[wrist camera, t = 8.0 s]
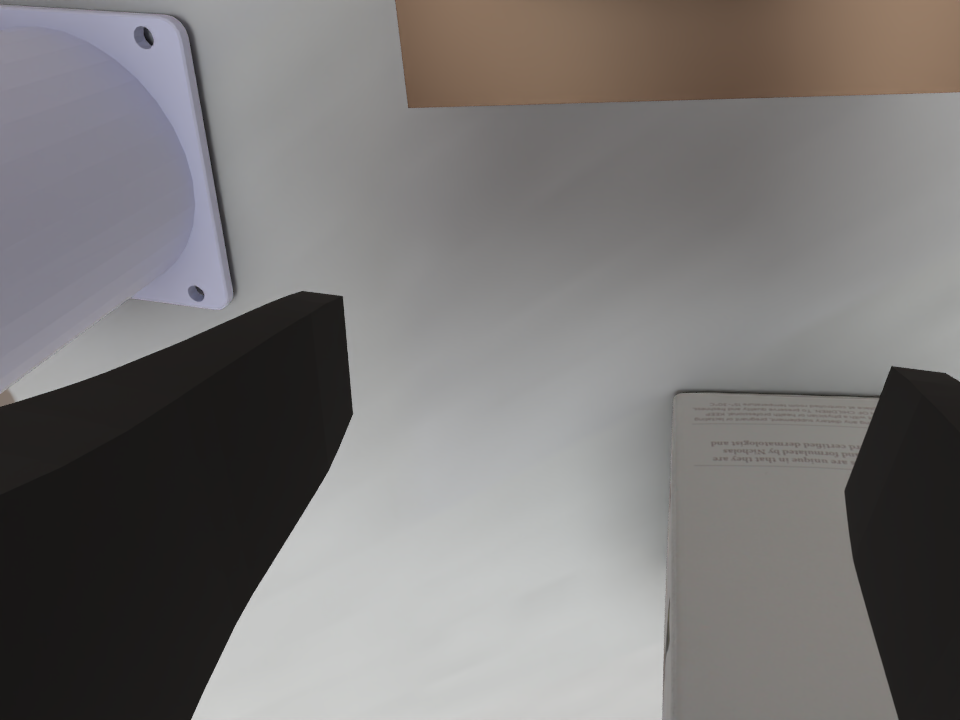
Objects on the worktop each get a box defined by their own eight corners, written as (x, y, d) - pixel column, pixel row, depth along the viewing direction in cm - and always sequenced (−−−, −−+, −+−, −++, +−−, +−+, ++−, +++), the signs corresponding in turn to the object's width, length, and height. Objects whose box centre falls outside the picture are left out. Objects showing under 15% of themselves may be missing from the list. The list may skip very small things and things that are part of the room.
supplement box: (668, 384, 21) (661, 886, 10) (968, 394, 19) (1330, 1013, 8) (662, 572, 24) (653, 1078, 14) (911, 595, 23) (1114, 1194, 12)
